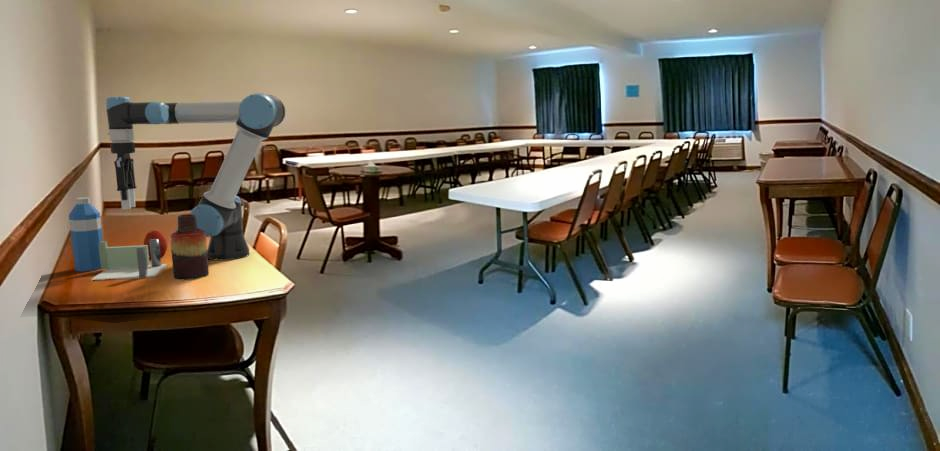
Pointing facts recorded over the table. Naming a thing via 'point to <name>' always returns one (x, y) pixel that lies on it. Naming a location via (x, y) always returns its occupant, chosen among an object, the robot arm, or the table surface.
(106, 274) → the board
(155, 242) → the hinge post
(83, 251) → the water bottle
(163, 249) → the apple
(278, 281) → the table surface
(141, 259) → the stop post
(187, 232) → the vase
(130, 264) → the gate
